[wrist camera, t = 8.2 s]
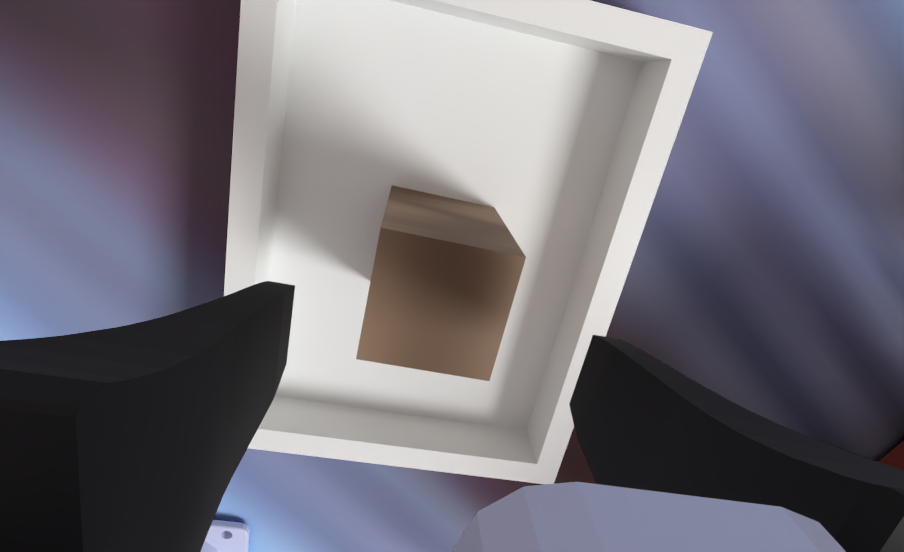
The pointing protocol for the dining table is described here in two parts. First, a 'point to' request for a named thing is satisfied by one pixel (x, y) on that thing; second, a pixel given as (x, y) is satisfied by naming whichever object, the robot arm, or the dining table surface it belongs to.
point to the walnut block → (440, 286)
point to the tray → (454, 176)
